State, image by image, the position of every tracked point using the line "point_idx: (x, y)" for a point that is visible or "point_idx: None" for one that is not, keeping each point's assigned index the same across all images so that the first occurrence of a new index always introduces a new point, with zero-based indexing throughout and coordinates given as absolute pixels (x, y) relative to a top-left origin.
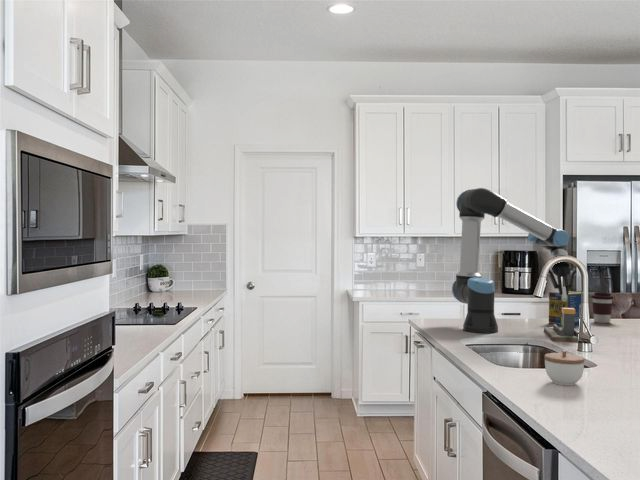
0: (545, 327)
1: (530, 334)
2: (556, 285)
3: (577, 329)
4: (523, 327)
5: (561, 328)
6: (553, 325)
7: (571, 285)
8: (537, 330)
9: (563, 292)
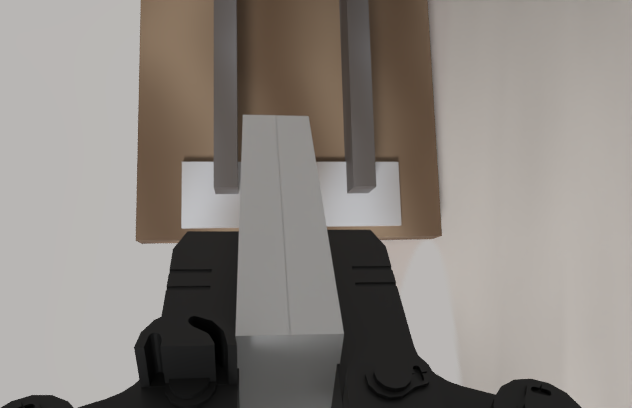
0: (430, 236)
1: (545, 13)
2: (516, 383)
3: (144, 199)
4: (600, 386)
5: None
6: (372, 163)
7: (13, 404)
8: (485, 241)
9: (304, 188)
